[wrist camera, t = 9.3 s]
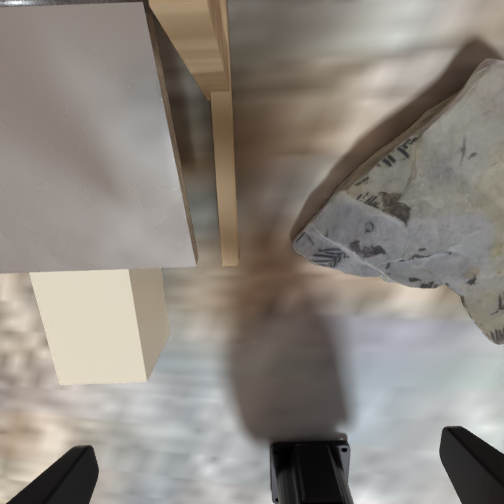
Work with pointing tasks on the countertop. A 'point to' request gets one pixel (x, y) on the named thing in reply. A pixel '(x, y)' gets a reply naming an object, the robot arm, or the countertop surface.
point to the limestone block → (103, 323)
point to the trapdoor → (87, 141)
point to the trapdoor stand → (210, 94)
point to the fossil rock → (428, 205)
